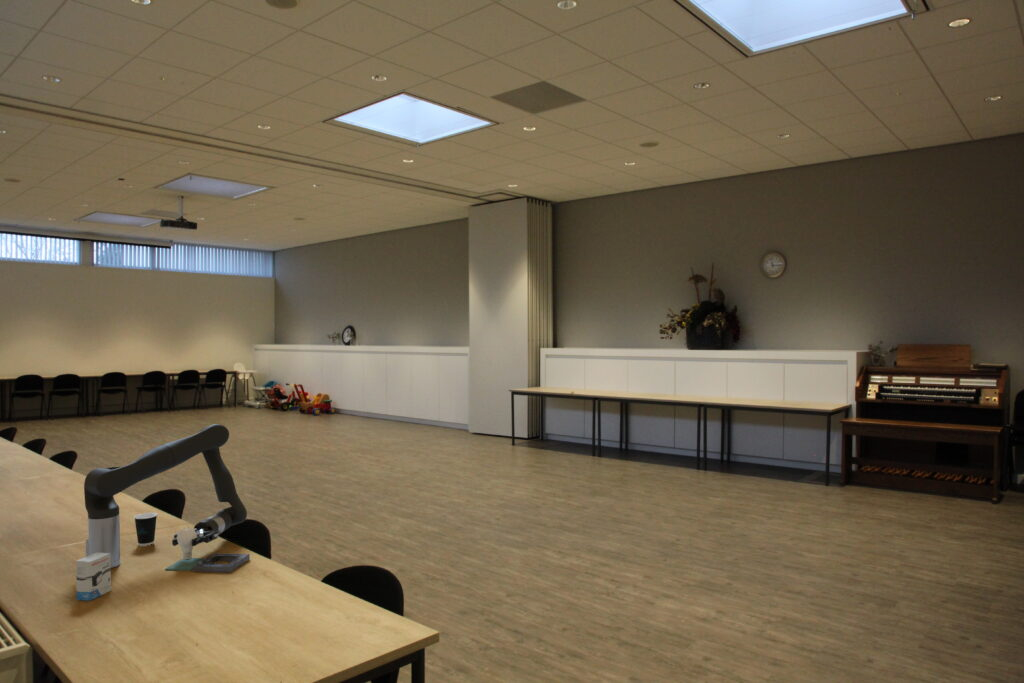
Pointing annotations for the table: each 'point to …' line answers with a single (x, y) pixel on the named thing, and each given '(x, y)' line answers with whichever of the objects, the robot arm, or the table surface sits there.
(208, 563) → the holder
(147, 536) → the dixie cup
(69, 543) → the table surface
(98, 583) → the ink box
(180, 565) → the mat
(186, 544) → the lightbulb
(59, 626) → the table surface
